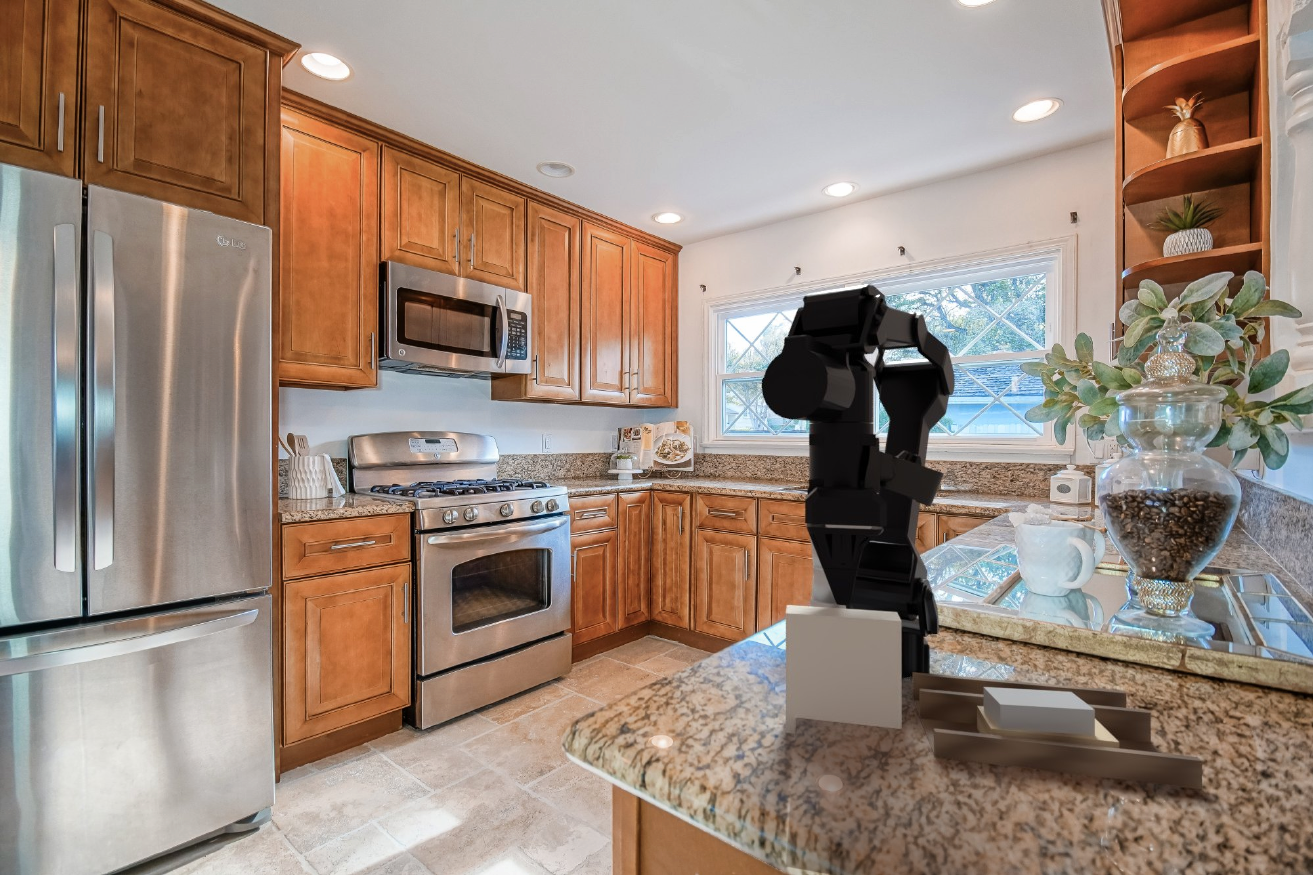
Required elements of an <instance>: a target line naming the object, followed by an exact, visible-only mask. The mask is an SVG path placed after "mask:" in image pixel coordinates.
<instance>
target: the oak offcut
mask: <svg viewBox="0 0 1313 875" xmlns="http://www.w3.org/2000/svg"><path fill="white" fill-rule="evenodd" d="M977 729H978V731H979V733H981V734H990V735H999V736H1008V737H1017V738H1027V739H1036V740H1045V741H1054V742H1064V743H1073V744H1082V745H1091V746H1101V747H1110V748H1119V741H1118V740H1117V739H1116V738H1115V737H1114V736H1112V735H1111V734H1110V733H1109V732H1108V731H1107V730H1106V729H1105V728H1104V727H1103V726H1102V725H1101V724H1100V723H1099V722H1098V721H1097V720H1096V719H1095V735H1084V734H1068V733H1053V732H1037V731H1022V730H1007V729H1000V728H999V727H998V726H997V725H996V724H995V722H994V721H993V720H992V719H991V718H990V717H989V716H988V714H987V713H986V712H985V711H984V706H977Z"/></svg>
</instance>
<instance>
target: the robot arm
mask: <svg viewBox="0 0 1313 875" xmlns="http://www.w3.org/2000/svg"><path fill="white" fill-rule="evenodd" d="M802 301H803V305H801V306H799V307H798V308H797V310H796V313H795V315H794V317H793V320H792V323H791V326H790V328H789V330H788V334H787V336H784V339H783V346H782V347H783V348H782V350H781V352H780V353H779V354H777V355H776V356H775V357H774V358H773V359H772V360H771V362H770V363H769V364H768V366H767V368H766V369H765V371H764V375H763V378H762V379H761V392H762V393H761V394H762V397H763V400H764V402H765V404H766V405H767V407H768V408H769V409H770V411H771V412H772V413H774V414H775V415H777V416H779V417H781V418H783V419H788V420H794V421H808V422H809V423H808V426H809V427H808V428H809V430H808V431H809V434H808V446H809V447H808V452H809V454H808V455H809V457H808V461H809V462H808V464H809V465H808V472H809V473H808V476H809V477H808V478H809V479H808V485H807V490H806V491H807V492H806V493H807V494H806V496H805V499H804V523H805V524H806V526H805V527H806V531H807V533H808V535H809V538H811V540H812V543H813V545H814V548H815V551H816V553H817V556H818V558H819V561H820V563H821V566H822V568H823V571H824V573H825V576H826V579H827V581H828V584H829V586H830V589H831V592H832V594H833V597H834V599H835V602H836V604H837V605H846V609H857V610H873V611H888V612H897V613H898V615H899V617H900V619H901V673H902V679H907V678H908V679H909V678H913V672H916V673H927V674H931V673H930V672H931V670H930V668H931V667H930V664H931V663H930V662H931V661H930V660H931V659H930V657H931V655H930V652H931V648H930V647H931V646H930V644H929V643H928V641H927V638H928V636H929V635H930V636H932V635H933V636H934V635H938V634H940V629H939V628H940V626H939V624H940V622H939V619H940V618H939V613H938V612H939V608H938V605H937V604H938V603H937V601H936V599H935V594H934V593H933V592H934V591H933V589H932V587H931V583H930V581H929V579H928V569H927V567H926V565H925V563H924V561H923V558H922V557H921V554H920V552H919V550H918V548H917V547H916V546H917V545H916V538H917V533H918V532H917V530H918V522H919V516H920V515H919V514H920V509H921V508H920V507H921V506H920V505H924V506H927V507H929V508H930V507H932V505H933V502H934V500H935V497H936V494H937V492H938V490H939V487H940V484H941V482H942V479H943V476H944V475H945V473H944V472H941V471H938V470H937V469H932V468H930V467H927V466H926V459H927V451H928V444H929V438H930V436H929V435H930V431H931V430H932V429H933V428H934V427H935V426H936V424H938V422H940V420H941V419H942V418H944V416H945V415H946V414H947V411H948V410H947V409H948V403H949V400H950V399H949V398H950V396H952V395H953V394H954V392H955V386H956V384H955V383H956V382H955V373H954V372H955V371H954V368H953V363H952V359H951V355H950V352H949V348H948V347H947V346H946V344H944V343H943V342H942V341H941V340H940V339H938V338H937V337H936V336H935V335H933V334H932V333H931V332H930V331H929V330H928V326H927V323H926V319H925V317H924V314H922V313H917V312H907V311H904V310H902V309H897V308H893V307H890V306H888V303H887V301H886V296H885V294H883V293H882V292H881V291H880V290H879V289H878V288H877V287H876V286H874V285H873V284H872V283H867V284H862V285H856V286H855V285H854V286H849V287H842V288H836V289H830V290H823V291H816V292H811V293H807V294H805V295H804V297H803V298H802ZM912 348H913V349H914V348H916V349H917V352H918V353H919V354H920V355H921V356H922V357H923V358H922V359H909V360H895V361H889V362H888V363H886V362H885V360H884V355H885V352H886V351H891V350H892V351H893V350H900V349H902V350H903V349H912ZM876 350H877V354H876V357H875V360H874V361H875V362H874V364H872V363H871V362H870V361H869V360H868V359H867V358H866V355H873V354H874V352H875V351H876ZM874 384H875V386H876V387H875V388H876V390H877V392H878V393H877V394H878V396H879V397H878V399H879V401H880V403H881V405H882V407H883V409H884V412H885V413H886V415H887V416H888V418H889V422H888V429H887V433H886V434H887V436H886V442H885V448H884V451H881V450H880V437H877V434H876V433H874Z"/></svg>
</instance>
